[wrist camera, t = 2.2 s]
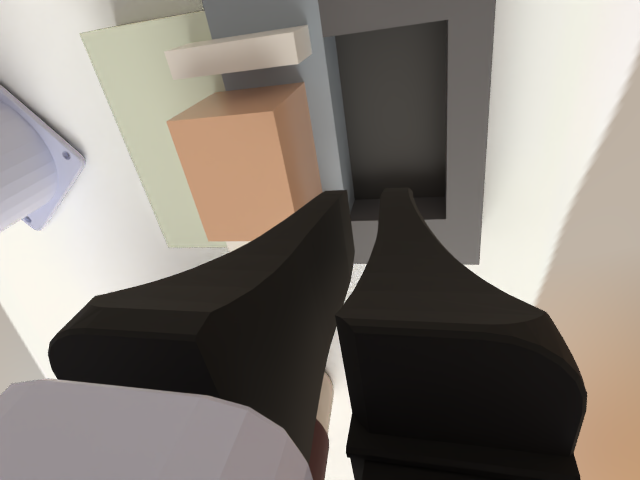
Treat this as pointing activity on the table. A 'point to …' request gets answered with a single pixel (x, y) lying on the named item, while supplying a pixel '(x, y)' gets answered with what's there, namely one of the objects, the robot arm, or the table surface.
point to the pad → (155, 111)
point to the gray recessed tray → (387, 102)
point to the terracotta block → (248, 158)
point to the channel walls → (240, 58)
